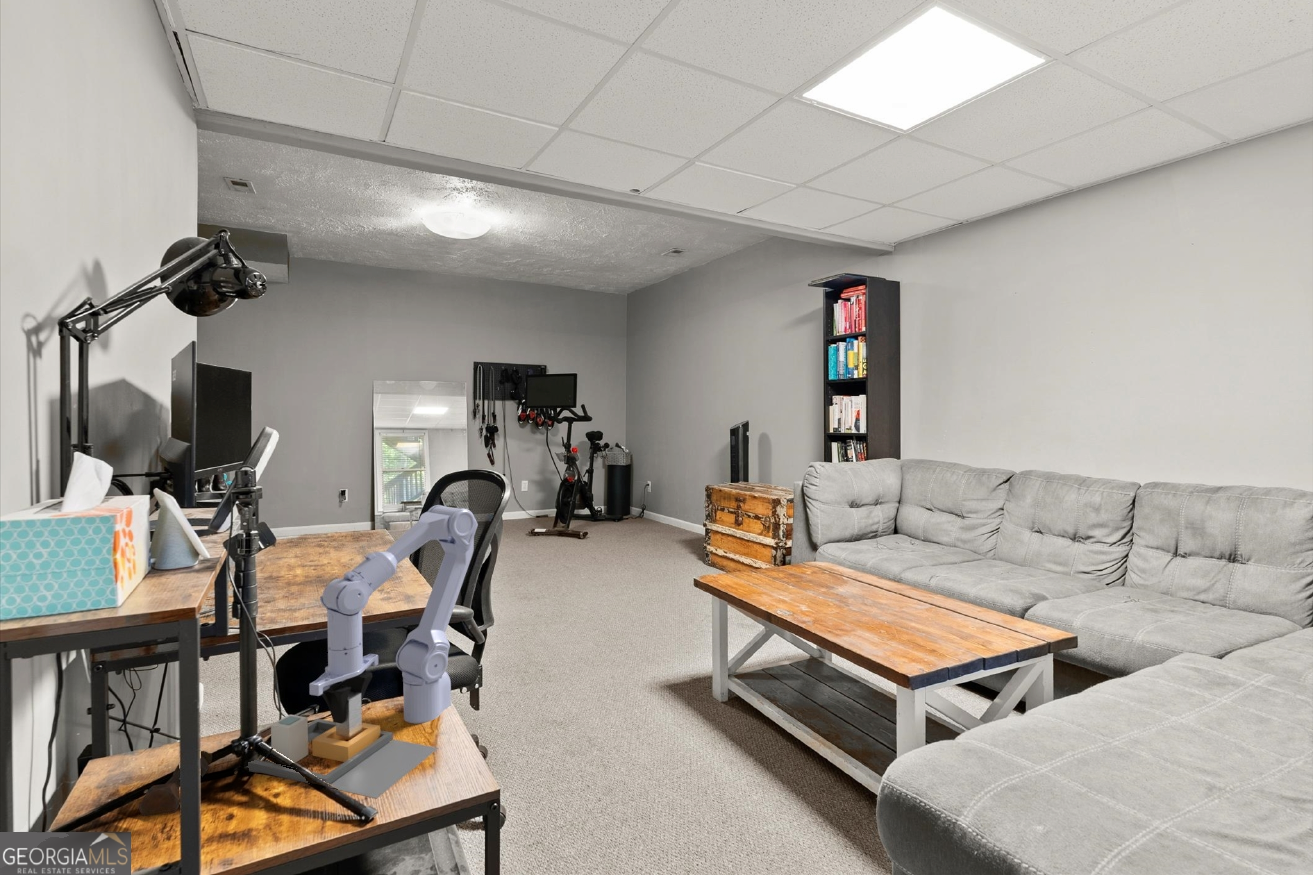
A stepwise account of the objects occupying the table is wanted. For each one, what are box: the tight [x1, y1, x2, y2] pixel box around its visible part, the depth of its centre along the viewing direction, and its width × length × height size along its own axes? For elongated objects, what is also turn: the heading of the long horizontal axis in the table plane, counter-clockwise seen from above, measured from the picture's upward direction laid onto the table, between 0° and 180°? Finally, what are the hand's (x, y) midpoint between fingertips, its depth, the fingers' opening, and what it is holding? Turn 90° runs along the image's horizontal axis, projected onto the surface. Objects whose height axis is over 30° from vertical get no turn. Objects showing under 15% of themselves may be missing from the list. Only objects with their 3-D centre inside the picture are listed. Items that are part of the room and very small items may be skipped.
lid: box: [330, 739, 439, 800], centre depth 111 cm, size 16×11×1 cm, turn 163°
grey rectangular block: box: [336, 691, 363, 738], centre depth 117 cm, size 3×3×7 cm
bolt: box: [138, 750, 213, 817], centre depth 106 cm, size 6×5×15 cm
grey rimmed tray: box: [248, 718, 394, 785], centre depth 116 cm, size 16×18×4 cm
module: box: [270, 714, 309, 764], centre depth 114 cm, size 4×4×7 cm
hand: (346, 717), depth 117 cm, fingers closed on grey rectangular block, 3 cm apart
